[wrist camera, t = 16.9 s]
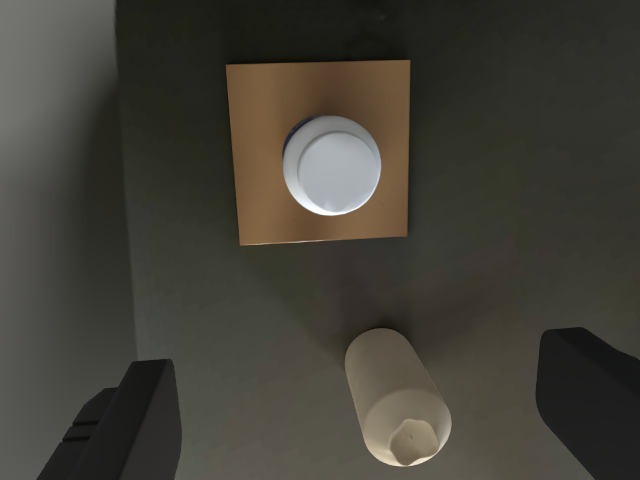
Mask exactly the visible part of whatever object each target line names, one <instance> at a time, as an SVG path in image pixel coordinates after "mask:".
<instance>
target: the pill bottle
mask: <svg viewBox="0 0 640 480" xmlns="http://www.w3.org/2000/svg"><path fill="white" fill-rule="evenodd" d="M282 163H283V173H284V178H285V182H286V184H287V187H288V189H289V191H290V193H291V194H292V196H293V197H294V198H295V199H296V200H297V202H299V203H300V204H301V205H302V206H303V207H305V208H306V209H308V210H310V211H312V212H314V213H318V214H322V215H340V214H345V213H348V212H350V211H353V210H355V209H357V208H359V207H360V206H362V205H363V204H364V203H366V202H367V201H368V199H369V198H370V197H371V196H372V194H373V192H374V190H375V188H376V186H377V184H378V181H379V177H380V172H381V159H380V153H379V150H378V147H377V145H376V143H375V141H374V139H373V138H372V136H371V135H370V134H369V133H368V131H367V130H366V129H365V128H363V127H362V126H361V125H359V124H358V123H356V122H354V121H352V120H350V119H347V118H344V117H341V116H335V115H314V116H310V117H308V118H306V119H304V120H302V121H300V122H299V123H298V124H296V125H295V126H294V127H293V128H292V129H291V131H290V132H289V133H288V135H287V137H286V139H285V142H284V145H283V149H282Z"/></svg>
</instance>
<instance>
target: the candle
mask: <svg viewBox="0 0 640 480" xmlns="http://www.w3.org/2000/svg"><path fill="white" fill-rule="evenodd" d="M345 370H346V374H347V378H348V382H349V386H350V389H351V393H352V397H353V400H354V404H355V408H356V411H357V415H358V419H359V422H360V426H361V430H362V433H363V437H364V440H365V443H366V446H367V448H368V449H369V451H370V452H371V453H372V454H373V455H374V456H375V457H376V458H377V459H379V460H380V461H382V462H384V463H387V464H390V465H394V466H411V465H416V464H419V463H422V462H424V461H426V460H428V459H430V458H431V457H433V456H434V455H435V454H436V453H437V452H438V451H439V450H440V449H441V448H442V447H443V446H444V444H445V443H446V441H447V439H448V437H449V434H450V430H451V416H450V412H449V410H448V408H447V406H446V404H445V402H444V401H443V399H442V397H441V395H440V394H439V392H438V390H437V389H436V387H435V385H434V383H433V382H432V380H431V378H430V377H429V375H428V373H427V371H426V370H425V368H424V366H423V365H422V363H421V361H420V359H419V358H418V356H417V354H416V353H415V351H414V349H413V348H412V346H411V344H410V343H409V341H408V340H407V339H406V338H405V337H404V336H403V335H401V334H400V333H398V332H396V331H394V330H391V329H386V328H377V329H372V330H369V331H366V332H364V333H362V334H361V335H359V336H358V337H357V338H355V339H354V341H353V342H352V343H351V344H350V346H349V348H348V350H347V352H346V356H345Z"/></svg>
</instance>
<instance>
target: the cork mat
mask: <svg viewBox="0 0 640 480" xmlns="http://www.w3.org/2000/svg"><path fill="white" fill-rule="evenodd" d="M226 76H227V88H228V101H229V113H230V126H231V139H232V151H233V164H234V176H235V189H236V202H237V214H238V227H239V239H240V245H255V244H273V243H291V242H309V241H327V240H345V239H363V238H381V237H399V236H407V220H408V161H409V102H410V60H381V61H342V62H303V63H264V64H226ZM314 115H335V116H341V117H344V118H347V119H350V120H352V121H354V122H356V123H358V124H359V125H361V126H362V127H363V128H365V129H366V130H367V131H368V133H369V134H370V135H371V136H372V138H373V139H374V141H375V143H376V145H377V147H378V150H379V153H380V159H381V172H380V177H379V181H378V184H377V186H376V188H375V190H374V192H373V194H372V196H371V197H370V198H369V199H368V201H367V202H366V203H364V204H363V205H362V206H360V207H359V208H357V209H355V210H353V211H350V212H348V213H345V214H340V215H322V214H318V213H314V212H312V211H310V210H308V209H306V208H305V207H303V206H302V205H301V204H300V203H299V202H297V200H296V199H295V198H294V197H293V196H292V194H291V193H290V191H289V189H288V187H287V184H286V182H285V178H284V173H283V163H282V149H283V145H284V142H285V139H286V137H287V135H288V133H289V132H290V131H291V129H292V128H293V127H294V126H295V125H296V124H298V123H299V122H300V121H302V120H304V119H306V118H308V117H310V116H314Z"/></svg>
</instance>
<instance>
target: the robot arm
mask: <svg viewBox="0 0 640 480" xmlns="http://www.w3.org/2000/svg"><path fill="white" fill-rule="evenodd" d="M536 403H537V407H538V411H539V413H540V416H541V418H542V419H543V421H544V422H545V424H546V425H547V426H548V427H549V428H550V429H551V430H552V432H553V433H554V434H555V435H556V436H557V437H558V438H559V439H560V441H561V442H562V443H563V444H564V445H565V446H566V447H567V448H568V449H569V451H570V452H571V453H572V454H573V455H574V456H575V457H576V458H577V460H578V461H579V462H580V463H581V464H582V465H583V466H584V467H585V469H586V470H587V471H588V472H589V473H590V474H591V475H592V476H593V477H594V479H595V480H640V360H639V359H637V358H635V357H632V356H630V355H628V354H625V353H623V352H620V351H618V350H616V349H615V348H613V347H612V346H610V345H609V344H607V343H606V342H604V341H603V340H601V339H600V338H598V337H597V336H595V335H594V334H592V333H591V332H590V331H588V330H587V329H585V328H582V327H576V328H563V329H550V330H546V331H545V332H544V333H543V334H542V337H541V341H540V350H539V361H538V372H537V383H536ZM181 443H182V429H181V419H180V411H179V403H178V395H177V386H176V378H175V371H174V365H173V362H172V360H171V359H160V360H147V361H135V362H132V363H131V365H130V367H129V368H128V370H127V372H126V374H125V376H124V377H123V379H122V381H121V383H120V385H119V387H117V388H105V389H104V390H102V391H101V392H100V393H98V394H97V395H96V396H95V397H93V398H92V399H91V400H90V401H88V402H87V403H86V404H85V405H84V406H83V408H82V409H81V411H80V412H79V414H78V415H77V417H76V418H75V420H74V422H73V426H72V427H70V428H69V429H68V431H67V433H66V434H65V436H64V437H63V442H62V443H59V445H58V447H57V448H56V450H55V451H54V453H53V455H52V456H51V458H50V459H49V461H48V462H47V464H46V465H45V467H44V469H43V470H42V472H41V473H40V475H39V476H38V478H37V480H174V477H175V473H176V470H177V466H178V462H179V458H180V453H181Z"/></svg>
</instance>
